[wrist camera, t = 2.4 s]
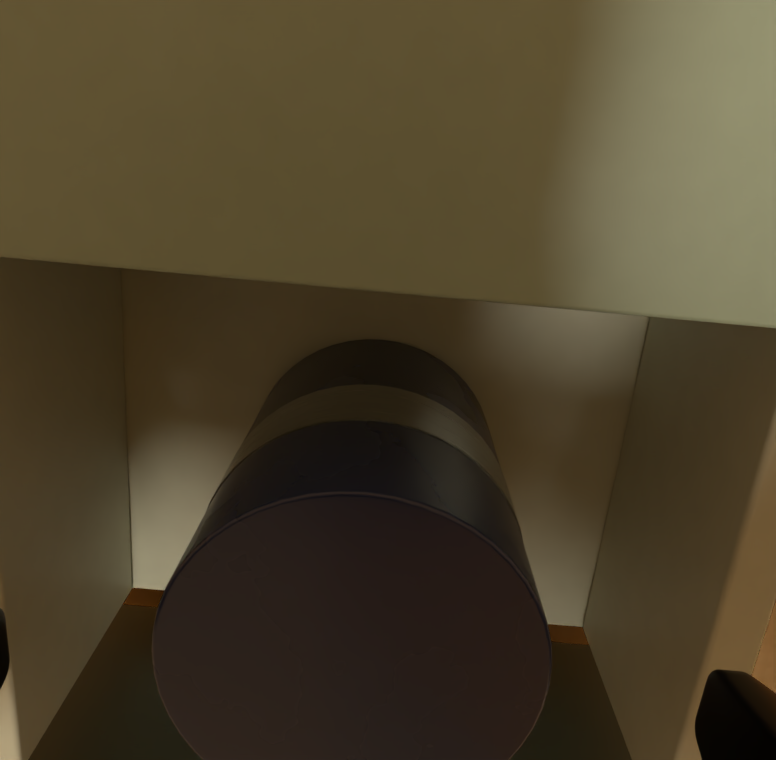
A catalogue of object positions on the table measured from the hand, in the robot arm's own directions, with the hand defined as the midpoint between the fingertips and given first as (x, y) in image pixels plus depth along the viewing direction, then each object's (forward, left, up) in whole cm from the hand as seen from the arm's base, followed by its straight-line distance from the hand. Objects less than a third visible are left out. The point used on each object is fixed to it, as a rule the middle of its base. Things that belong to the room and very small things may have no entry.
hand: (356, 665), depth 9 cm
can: (0, 0, -6) cm, 6 cm away
